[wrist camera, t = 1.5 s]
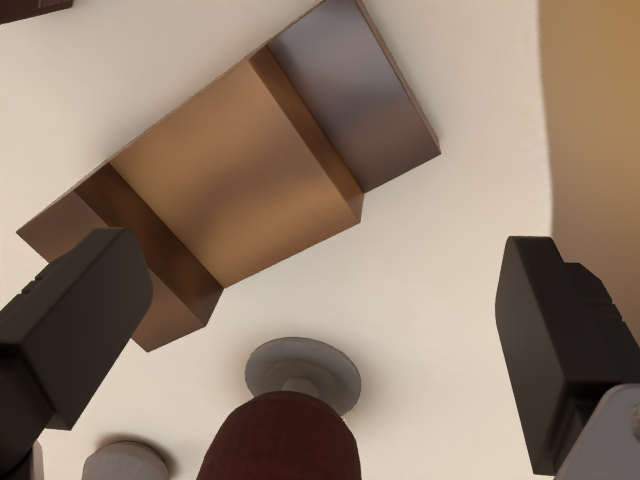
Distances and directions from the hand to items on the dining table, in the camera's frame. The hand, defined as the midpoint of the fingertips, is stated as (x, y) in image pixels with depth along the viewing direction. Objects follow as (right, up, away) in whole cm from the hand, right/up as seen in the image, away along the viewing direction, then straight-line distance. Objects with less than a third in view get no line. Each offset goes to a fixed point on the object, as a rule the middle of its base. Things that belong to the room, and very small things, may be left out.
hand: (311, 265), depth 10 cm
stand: (-5, +7, +26) cm, 27 cm away
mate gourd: (-1, -14, +39) cm, 42 cm away
